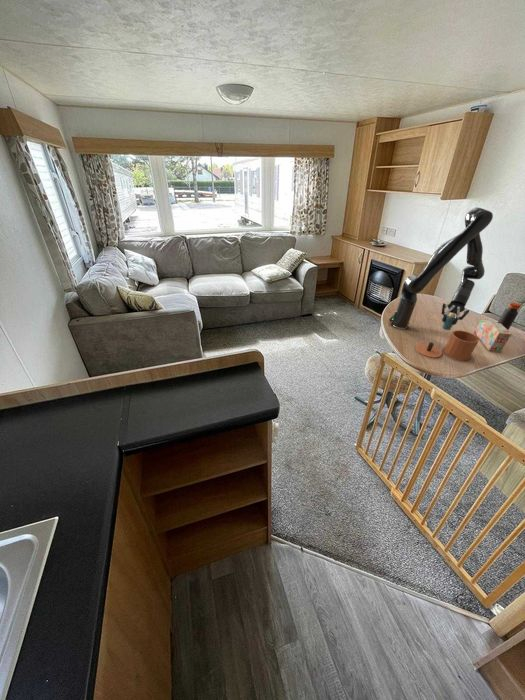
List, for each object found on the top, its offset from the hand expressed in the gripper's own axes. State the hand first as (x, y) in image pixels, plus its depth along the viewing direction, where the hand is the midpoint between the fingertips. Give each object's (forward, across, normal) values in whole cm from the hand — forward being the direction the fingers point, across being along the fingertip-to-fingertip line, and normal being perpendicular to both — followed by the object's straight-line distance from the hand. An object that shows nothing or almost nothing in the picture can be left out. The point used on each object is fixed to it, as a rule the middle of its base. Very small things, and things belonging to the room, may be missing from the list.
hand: (448, 322), depth 164 cm
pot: (+15, +10, +4) cm, 18 cm away
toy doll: (+2, 0, +4) cm, 5 cm away
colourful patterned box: (-5, +22, +23) cm, 33 cm away
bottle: (-18, +27, +37) cm, 49 cm away
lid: (+20, -3, -2) cm, 21 cm away
